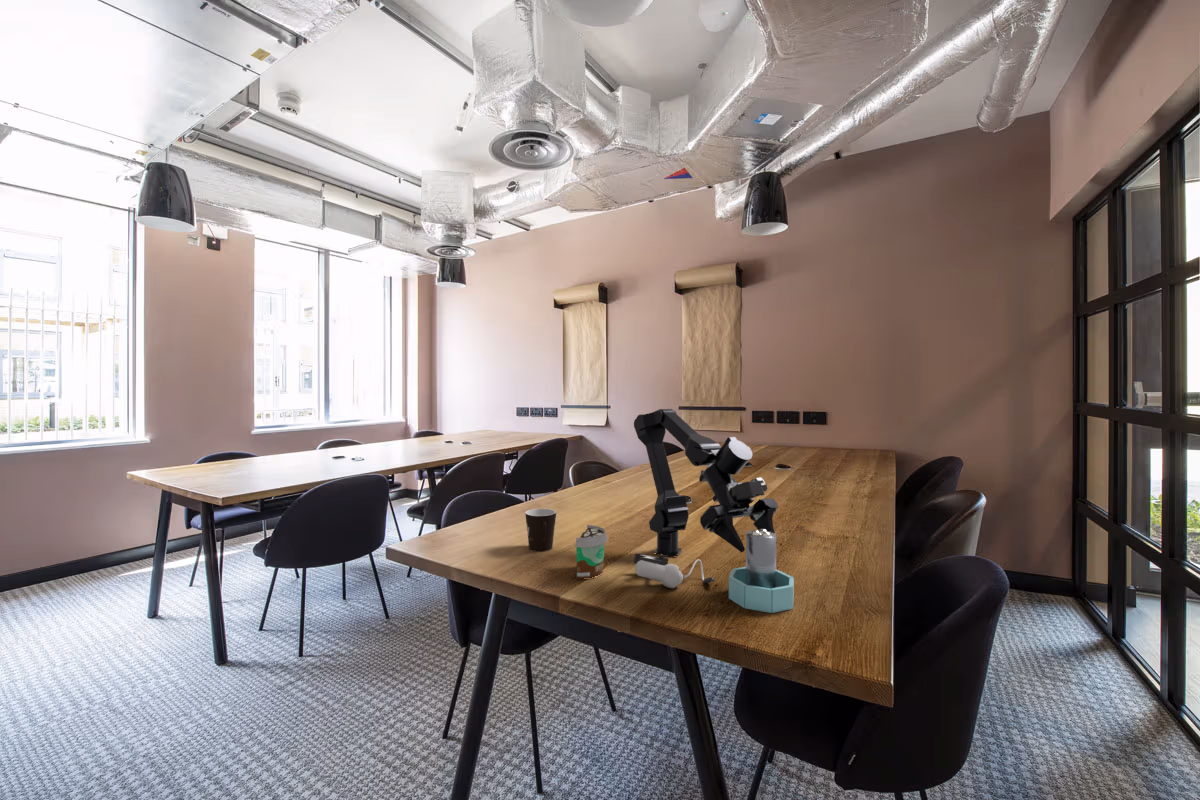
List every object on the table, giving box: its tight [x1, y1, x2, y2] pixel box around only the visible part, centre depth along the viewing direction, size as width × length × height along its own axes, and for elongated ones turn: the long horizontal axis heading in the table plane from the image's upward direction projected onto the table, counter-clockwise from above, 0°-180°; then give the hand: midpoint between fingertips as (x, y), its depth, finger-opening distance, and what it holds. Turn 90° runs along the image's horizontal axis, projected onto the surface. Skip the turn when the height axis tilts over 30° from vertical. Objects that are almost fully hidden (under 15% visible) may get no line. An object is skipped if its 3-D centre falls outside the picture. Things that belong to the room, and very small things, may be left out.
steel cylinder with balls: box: [745, 529, 777, 588], centre depth 102 cm, size 6×6×13 cm
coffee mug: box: [524, 508, 557, 553], centre depth 134 cm, size 12×9×10 cm
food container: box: [575, 524, 608, 580], centre depth 116 cm, size 12×6×10 cm, turn 168°
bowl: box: [728, 566, 795, 614], centre depth 102 cm, size 13×13×4 cm
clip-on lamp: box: [632, 552, 715, 589], centre depth 112 cm, size 12×6×18 cm
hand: (759, 548), depth 103 cm, fingers open, 9 cm apart
